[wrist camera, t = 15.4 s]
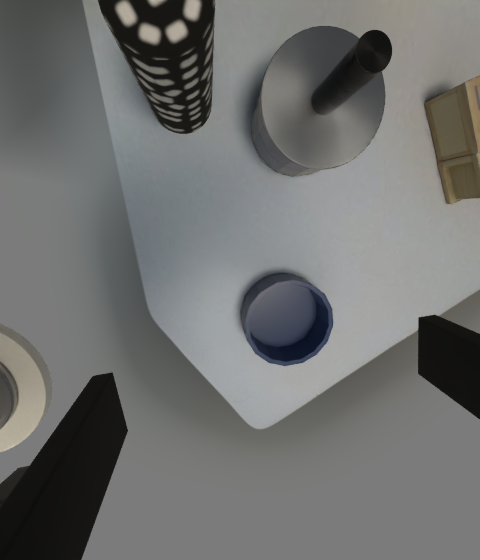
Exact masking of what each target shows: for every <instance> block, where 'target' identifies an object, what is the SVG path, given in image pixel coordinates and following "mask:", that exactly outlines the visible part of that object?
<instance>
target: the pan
mask: <svg viewBox="0 0 480 560" xmlns="http://www.w3.org/2000/svg"><path fill="white" fill-rule="evenodd" d="M241 318H242V325H243V329H244V332H245V336H246V339H247V341H248V343H249V344H250V346H251V347H252V349H253V351H254V352H255V353H256V354H257V355H258V356H260V357H261V358H263V359H264V360H266V361H267V362H269V363H273V364H278V365H283V366H287V365H293V364H299V363H303V362H305V361H306V360H308V359H310V358H311V357H313V356H315V355H317V353H318V352H319V351H320V350H321V349H322V347H323V346H324V345H325V344H326V343H327V341H328V339H329V336H330V333H331V330H332V327H333V315H332V308H331V306H330V304H329V302H328V300H327V298H326V296H325V294H324V293H322V292H321V291H320V290H319V289H317V288H316V287H315V286H314V285H312V284H311V283H309V282H308V281H306V280H305V279H303V278H302V277H299V276H295V275H292V274H287V273H284V274H283V273H282V274H274V275H270V276H268V277H265V278H264V279H262V280H260V281H259V282H257V283H256V284H255V285H254V286H253V287H252V288H251V289H250V290H249V292H248V293H247V295H246V297H245V299H244V302H243V305H242V310H241Z"/></svg>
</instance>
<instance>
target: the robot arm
mask: <svg viewBox="0 0 480 560" xmlns="http://www.w3.org/2000/svg"><path fill="white" fill-rule="evenodd" d="M418 333H419V334H418V335H419V336H418V337H419V338H418V340H419V341H418V374H419V375H421V376H422V377H423V378H425V379H426V380H427V381H429V382H430V383H431V384H433V385H434V386H435V387H437V388H438V389H440V390H441V391H442V392H444V393H445V394H446V395H448V396H449V397H450V398H452V399H453V400H454V401H456V402H457V403H459V404H460V405H461V406H463V407H464V408H465V409H467V410H468V411H469V412H471V413H472V414H473V415H475V416H476V417H477V418H479V419H480V334H479V333H476V332H474V331H471V330H469V329H467V328H464V327H462V326H460V325H457V324H455V323H453V322H451V321H448V320H446V319H444V318H441V317H439V316H437V315H430V316H425V317H419V328H418ZM18 400H19V392H18V387H17V384H16V381H15V379H14V377H13V375H12V374H11V372H10V371H9V370H8V368H7V367H6V366H5V365H4V364H3V363H2V362H0V429H1V428H2V427H3V426H4V425H5V424H6V423H7V422H8V421H9V420H10V419H11V418H12V416H13V415H14V413H15V411H16V408H17V405H18ZM127 432H128V429H127V426H126V422H125V418H124V414H123V410H122V407H121V403H120V399H119V395H118V392H117V388H116V384H115V380H114V376H113V373H107V374H101V375H96V376H93V377H92V378H91V379H90V381H89V382H88V384H87V385H86V387H85V388H84V389H83V391H82V392H81V394H80V395H79V396H78V398H77V399H76V401H75V402H74V404H73V405H72V406H71V408H70V409H69V411H68V412H67V414H66V415H65V417H64V418H63V419H62V421H61V422H60V423H59V425H58V426H57V428H56V429H55V431H54V432H53V433H52V435H51V436H50V438H49V439H48V441H47V442H46V443H45V445H44V446H43V448H42V449H41V451H40V452H39V453H38V455H37V456H36V458H35V459H34V460H33V462H32V463H31V465H30V466H26V467H21V468H18V469H17V470H16V471H15V472H13V473H12V474H11V475H10V476H9V477H8V478H7V479H6V480H4V481H3V482H2V483H1V484H0V560H81V559H82V556H83V553H84V551H85V548H86V545H87V542H88V540H89V537H90V534H91V531H92V528H93V526H94V523H95V520H96V517H97V514H98V512H99V509H100V506H101V504H102V501H103V498H104V495H105V493H106V490H107V487H108V484H109V481H110V479H111V476H112V473H113V470H114V468H115V465H116V462H117V459H118V456H119V454H120V451H121V448H122V445H123V443H124V439H125V437H126V434H127Z"/></svg>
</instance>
